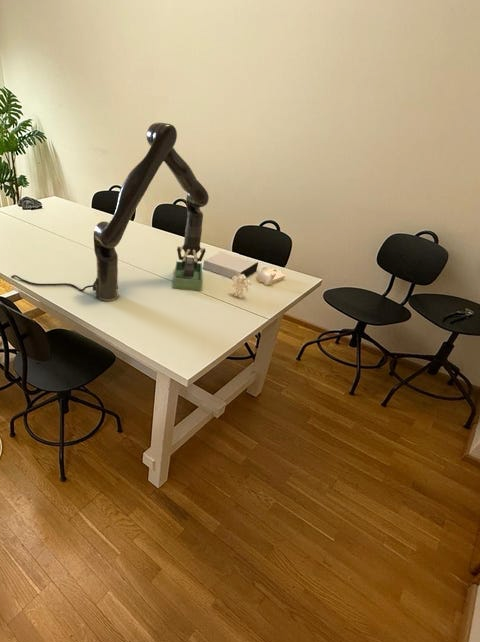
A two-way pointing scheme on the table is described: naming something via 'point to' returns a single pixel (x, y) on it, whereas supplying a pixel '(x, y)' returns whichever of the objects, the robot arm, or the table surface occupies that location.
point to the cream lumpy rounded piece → (269, 275)
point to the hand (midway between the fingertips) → (189, 268)
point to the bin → (187, 278)
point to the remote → (189, 267)
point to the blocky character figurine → (240, 284)
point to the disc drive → (230, 265)
